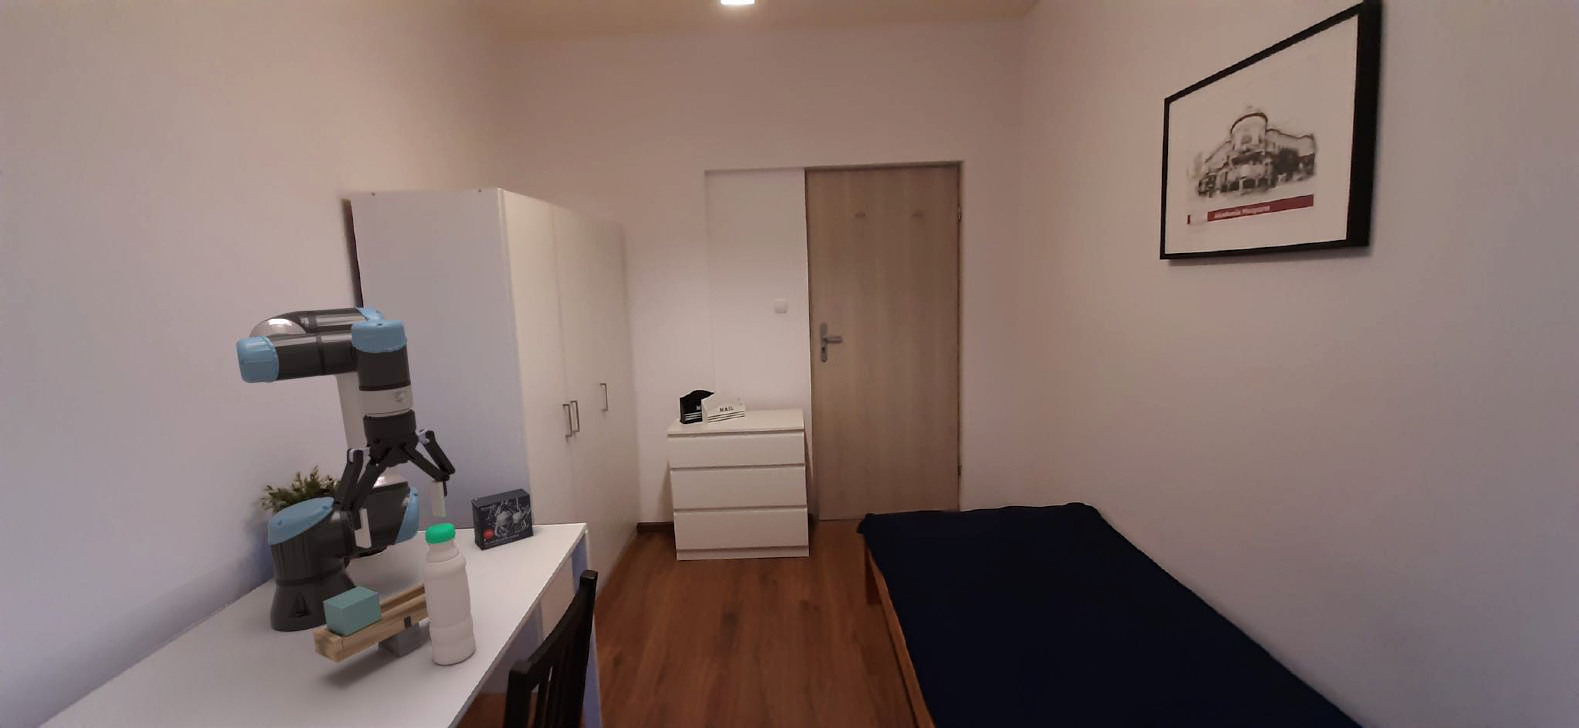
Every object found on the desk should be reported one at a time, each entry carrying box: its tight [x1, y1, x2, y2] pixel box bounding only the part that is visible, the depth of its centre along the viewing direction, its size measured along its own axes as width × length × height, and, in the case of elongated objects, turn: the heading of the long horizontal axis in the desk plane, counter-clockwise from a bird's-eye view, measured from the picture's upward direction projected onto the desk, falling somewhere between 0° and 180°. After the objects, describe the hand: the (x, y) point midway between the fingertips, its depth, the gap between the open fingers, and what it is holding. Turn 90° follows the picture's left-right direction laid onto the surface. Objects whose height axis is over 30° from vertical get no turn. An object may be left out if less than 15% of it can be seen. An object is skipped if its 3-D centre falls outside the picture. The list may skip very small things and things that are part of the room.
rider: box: [323, 585, 382, 637], centre depth 113 cm, size 6×6×6 cm
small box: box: [471, 488, 534, 551], centre depth 167 cm, size 13×7×12 cm, turn 130°
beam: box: [312, 582, 429, 664], centre depth 119 cm, size 7×24×12 cm, turn 152°
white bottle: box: [421, 522, 476, 666], centre depth 115 cm, size 7×7×25 cm
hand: (403, 530), depth 111 cm, fingers open, 13 cm apart
